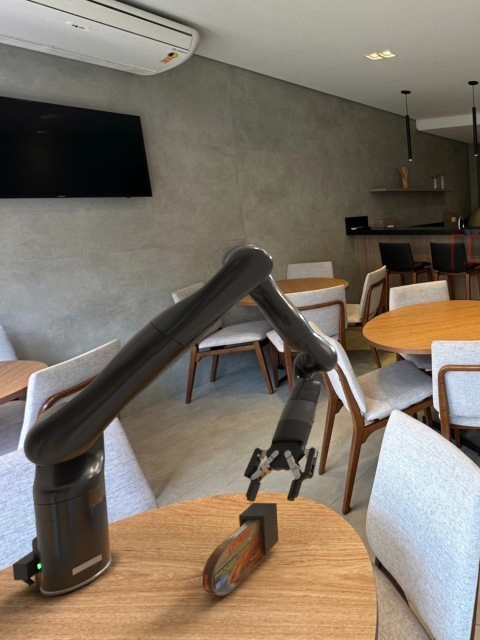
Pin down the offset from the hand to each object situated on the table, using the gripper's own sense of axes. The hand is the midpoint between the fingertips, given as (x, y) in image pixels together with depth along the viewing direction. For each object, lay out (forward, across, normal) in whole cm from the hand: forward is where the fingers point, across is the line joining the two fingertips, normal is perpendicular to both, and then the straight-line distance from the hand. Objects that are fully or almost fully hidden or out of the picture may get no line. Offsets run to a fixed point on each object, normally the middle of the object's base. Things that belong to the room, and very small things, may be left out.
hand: (270, 500), depth 88 cm
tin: (+12, 0, 0) cm, 12 cm away
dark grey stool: (+8, 0, +2) cm, 8 cm away
